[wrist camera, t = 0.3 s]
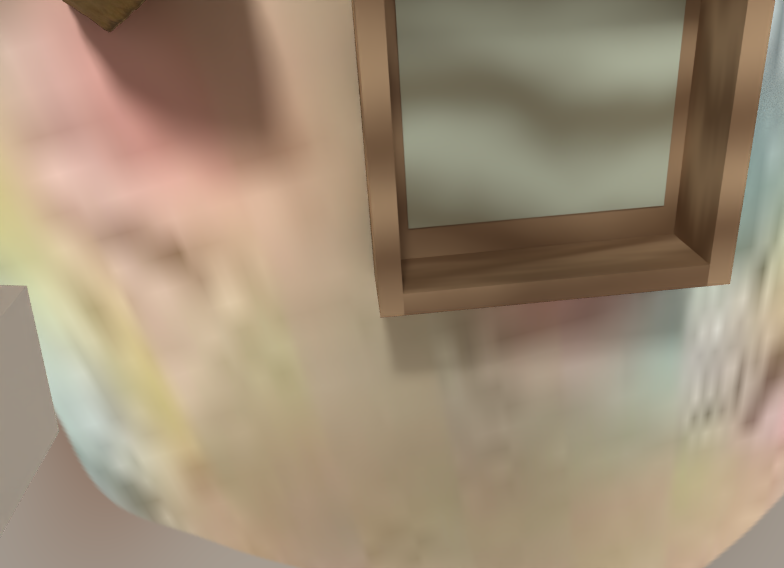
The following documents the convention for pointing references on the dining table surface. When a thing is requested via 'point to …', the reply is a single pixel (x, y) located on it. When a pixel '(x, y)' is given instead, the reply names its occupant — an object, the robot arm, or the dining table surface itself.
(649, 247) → the crate
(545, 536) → the dining table surface
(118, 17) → the rock
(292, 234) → the dining table surface
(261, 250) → the dining table surface
